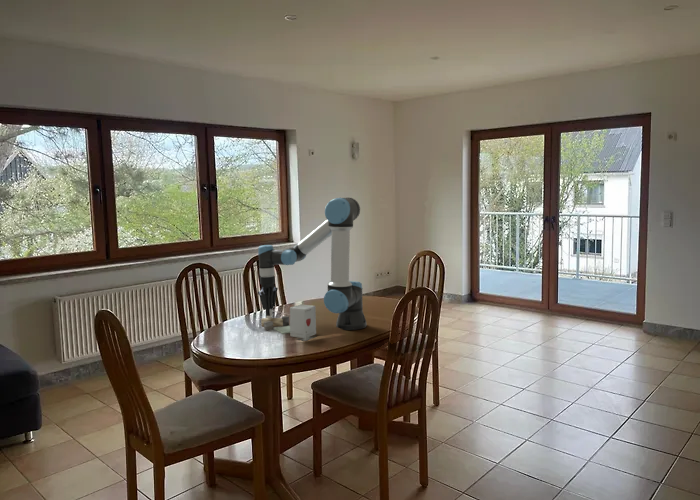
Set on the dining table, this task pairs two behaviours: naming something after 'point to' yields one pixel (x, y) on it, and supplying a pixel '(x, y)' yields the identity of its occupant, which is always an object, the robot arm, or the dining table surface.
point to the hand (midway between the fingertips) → (269, 321)
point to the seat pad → (283, 329)
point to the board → (268, 325)
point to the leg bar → (277, 321)
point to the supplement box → (303, 322)
